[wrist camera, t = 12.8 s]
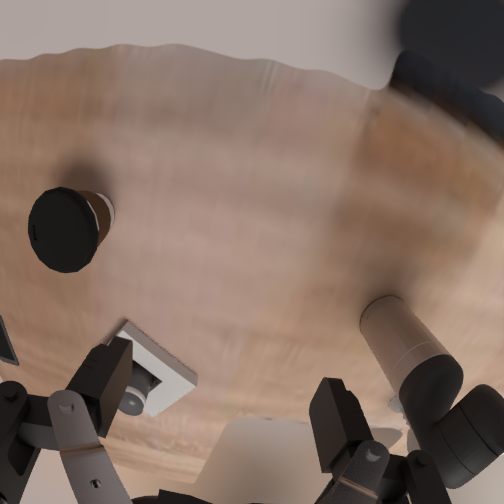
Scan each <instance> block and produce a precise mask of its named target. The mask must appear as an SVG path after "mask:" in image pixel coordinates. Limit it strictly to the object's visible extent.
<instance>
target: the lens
mask: <svg viewBox="0 0 504 504" xmlns="http://www.w3.org/2000/svg"><path fill="white" fill-rule="evenodd" d="M154 377H155V375H153V374H152V373H151V372H149V371H148V370H147V369H145V368H144V367H143V366H141V365H140V364H139V363H137V362H136V361H135V360H133V361H132V374H131V378H130V381H129V384H128V386H127V388H126V391H125V393H124V395H123V397H122V400H121V402H120V404H119V407H118V409H119V410H120V411H122V412H123V413H125V414H128V415H132V416H137V415H140V414H141V413H142V411H143V409H144V407H145V404H146V400H147V397H148V394H149V391H150V388H151V385H152V383H153V380H154Z"/></svg>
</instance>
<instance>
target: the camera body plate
mask: <svg viewBox="0 0 504 504" xmlns="http://www.w3.org/2000/svg"><path fill="white" fill-rule="evenodd" d="M115 336H119V337H122V338H126V339H129V340H132V341H133V359H134V360H135V361H136V362H137V363H139V364H140V365H141V366H143V367H144V368H145V369H147V370H148V371H149V372H151V373H152V374H153V375H155V376H156V377H157V379H156V380H155V381H154V382H153V383H152V385H151V388H150V391H149V394H148V397H147V400H146V404H145V407H144V409H143V411H144V412H145V413H147V414H148V415H150V416H151V417H154V416H156V415H157V414H158V413H160V412H161V411H163V410H164V409H166V408H167V407H169V406H170V405H171V404H173V403H174V402H176V401H177V400H178V399H180V398H181V397H183V396H184V395H185V394H187V393H188V392H190V391H191V390H192V389H194V388H195V387H196V385H197V380H198V375H196V374H195V373H194V372H192V371H191V370H190V369H188V368H187V367H186V366H184V365H183V364H182V363H180V362H179V361H178V360H176V359H175V358H174V357H172V356H171V355H170V354H168V353H167V352H166V351H165V350H163V349H162V348H161V347H159V346H158V345H157V344H156V343H154V342H153V341H152V340H151V339H150V338H148V337H147V336H146V335H145V334H143V333H142V332H141V331H140V330H139V329H137V328H136V327H135V326H134V325H133V324H132V323H130V322H129V321H128V322H127V323H126V324H125V325H124V326H123V327H122V328H121V329H120V330H119V331H118V333H117V334H116V335H115ZM112 339H113V338H112ZM112 339H111V340H112ZM111 340H110V341H109V343H108V344H107V346H108V345H109V344H110V342H111Z"/></svg>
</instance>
